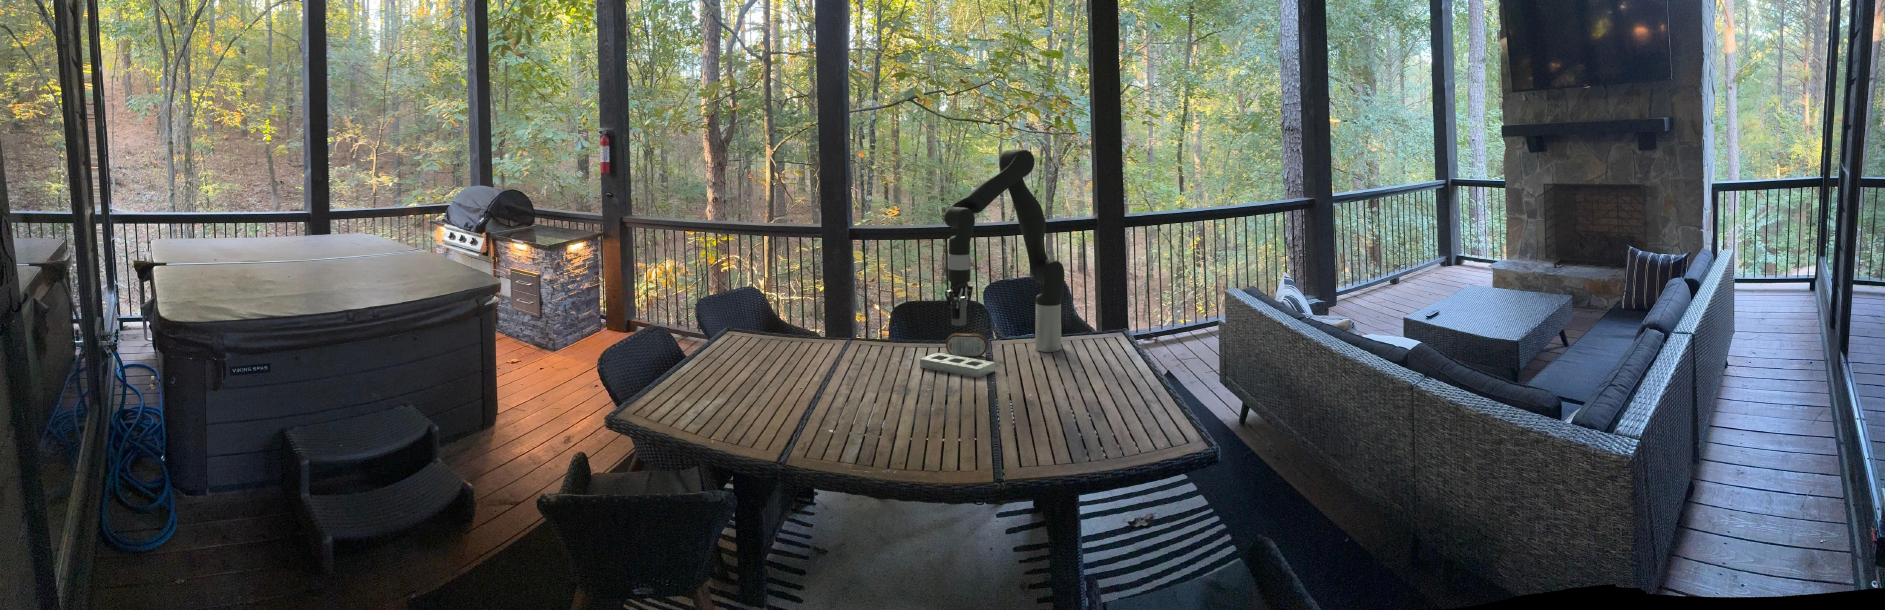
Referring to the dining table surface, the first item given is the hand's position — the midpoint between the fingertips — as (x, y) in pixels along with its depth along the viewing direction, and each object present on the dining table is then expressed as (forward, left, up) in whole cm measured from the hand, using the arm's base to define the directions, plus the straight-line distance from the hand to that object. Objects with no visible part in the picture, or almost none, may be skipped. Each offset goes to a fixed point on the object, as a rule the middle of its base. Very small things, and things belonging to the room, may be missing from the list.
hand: (958, 317), depth 305 cm
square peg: (0, 0, -2) cm, 2 cm away
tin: (-15, -7, -18) cm, 25 cm away
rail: (0, -1, -18) cm, 18 cm away
